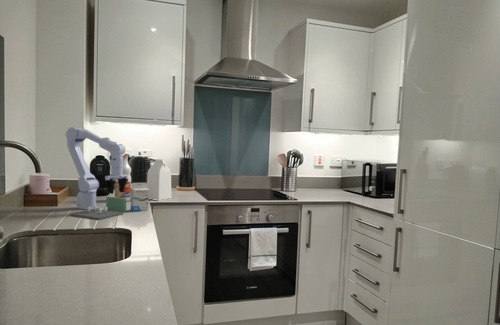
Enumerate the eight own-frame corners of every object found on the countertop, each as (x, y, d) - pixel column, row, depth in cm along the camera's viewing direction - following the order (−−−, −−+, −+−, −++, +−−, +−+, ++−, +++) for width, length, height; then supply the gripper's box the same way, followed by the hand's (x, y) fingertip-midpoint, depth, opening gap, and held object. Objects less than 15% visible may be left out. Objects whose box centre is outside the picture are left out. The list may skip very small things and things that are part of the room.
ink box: (132, 211, 194) (133, 183, 193) (130, 210, 198) (131, 182, 197) (148, 210, 198) (149, 183, 198) (145, 209, 203) (146, 182, 202)
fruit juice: (118, 199, 233) (120, 155, 232) (133, 200, 232) (134, 155, 231) (111, 201, 223) (112, 155, 222) (126, 202, 222) (127, 156, 221)
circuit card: (106, 209, 196) (106, 196, 195) (108, 209, 197) (108, 196, 197) (123, 212, 191) (124, 199, 191) (125, 211, 193) (126, 198, 192)
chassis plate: (70, 215, 177) (70, 207, 177) (95, 210, 192) (95, 203, 191) (99, 219, 170) (99, 211, 170) (123, 214, 185) (123, 206, 185)
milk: (145, 198, 239) (146, 159, 237) (158, 197, 248) (159, 158, 247) (158, 201, 232) (160, 160, 231) (171, 199, 242) (172, 159, 241)
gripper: (113, 168, 185) (112, 194, 186) (132, 167, 198) (131, 192, 199) (102, 167, 188) (101, 193, 188) (122, 166, 201) (121, 190, 202)
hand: (116, 192), depth 194 cm, fingers open, 7 cm apart
